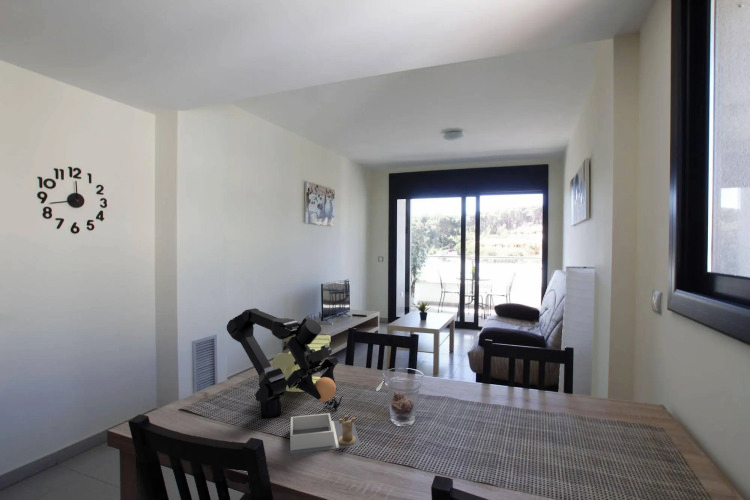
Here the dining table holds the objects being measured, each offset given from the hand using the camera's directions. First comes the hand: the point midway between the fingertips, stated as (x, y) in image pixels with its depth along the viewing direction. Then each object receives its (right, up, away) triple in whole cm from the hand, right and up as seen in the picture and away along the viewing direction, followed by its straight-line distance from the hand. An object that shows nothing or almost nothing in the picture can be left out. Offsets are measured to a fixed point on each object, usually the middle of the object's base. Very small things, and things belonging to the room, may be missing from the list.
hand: (328, 394), depth 113 cm
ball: (-1, +1, +1) cm, 2 cm away
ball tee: (+6, -12, -4) cm, 14 cm away
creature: (-2, -13, +20) cm, 24 cm away
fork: (+18, -13, +45) cm, 51 cm away
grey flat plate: (-1, -13, 0) cm, 13 cm away
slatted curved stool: (-15, -13, +42) cm, 47 cm away
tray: (-5, -12, -1) cm, 13 cm away
